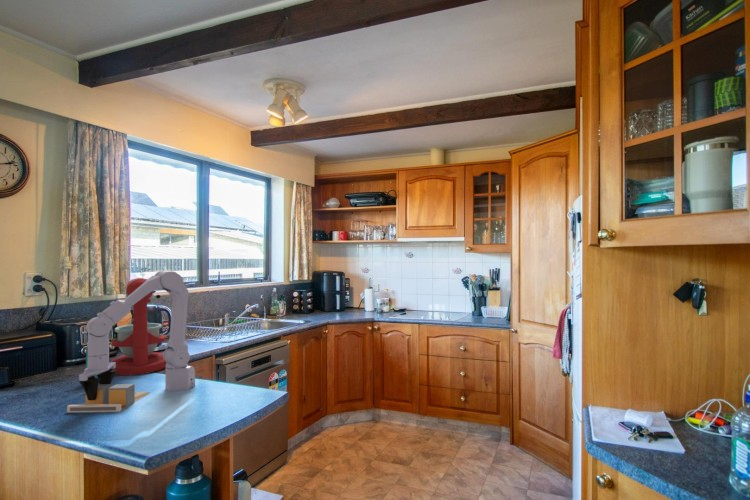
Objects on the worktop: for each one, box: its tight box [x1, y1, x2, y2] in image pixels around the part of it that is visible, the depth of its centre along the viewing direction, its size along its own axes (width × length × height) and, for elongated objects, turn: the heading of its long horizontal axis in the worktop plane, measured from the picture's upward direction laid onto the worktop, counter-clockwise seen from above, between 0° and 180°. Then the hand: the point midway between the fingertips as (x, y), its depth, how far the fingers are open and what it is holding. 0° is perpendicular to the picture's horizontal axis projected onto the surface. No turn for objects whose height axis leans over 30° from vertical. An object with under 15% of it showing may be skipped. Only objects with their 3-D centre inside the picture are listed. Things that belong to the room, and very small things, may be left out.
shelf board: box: [66, 391, 152, 414], centre depth 133 cm, size 16×18×1 cm
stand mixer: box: [109, 277, 167, 376], centre depth 181 cm, size 24×32×40 cm
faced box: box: [108, 383, 136, 408], centre depth 130 cm, size 6×4×6 cm
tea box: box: [84, 383, 113, 405], centre depth 130 cm, size 6×4×6 cm
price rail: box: [66, 404, 122, 413], centre depth 124 cm, size 16×1×2 cm, turn 91°
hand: (98, 396), depth 130 cm, fingers open, 5 cm apart
